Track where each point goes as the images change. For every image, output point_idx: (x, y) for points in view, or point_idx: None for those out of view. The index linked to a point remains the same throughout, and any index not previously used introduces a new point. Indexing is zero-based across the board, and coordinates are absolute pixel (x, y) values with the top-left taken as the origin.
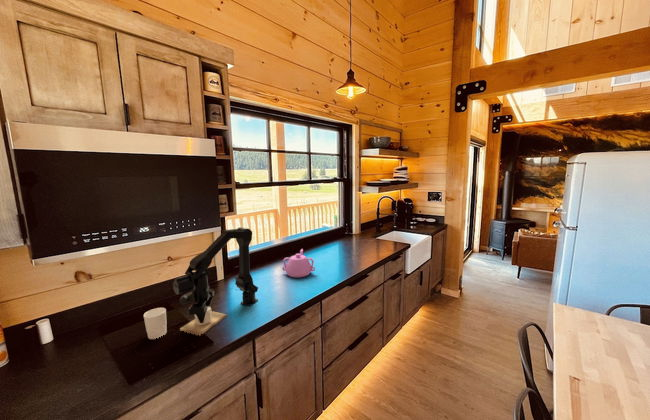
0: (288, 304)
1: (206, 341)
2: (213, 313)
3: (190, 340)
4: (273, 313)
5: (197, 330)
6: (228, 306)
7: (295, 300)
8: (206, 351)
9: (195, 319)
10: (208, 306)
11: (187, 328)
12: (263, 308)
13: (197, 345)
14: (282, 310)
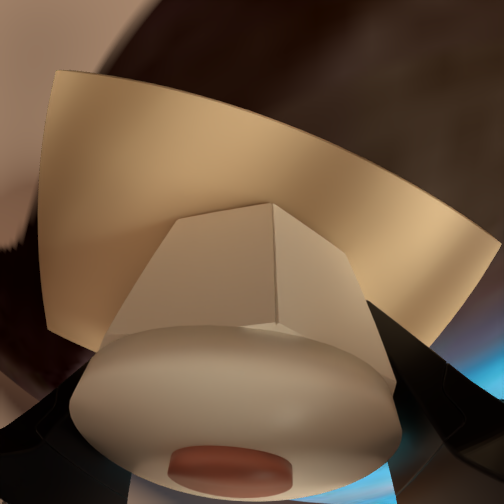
0: (372, 496)
1: (44, 363)
2: (415, 331)
3: (6, 271)
4: (319, 495)
5: (70, 300)
6: (497, 354)
7: (391, 496)
8: (9, 370)
9: (147, 265)
10: (350, 481)
11: (67, 169)
12: (376, 475)
13: (5, 328)
14: (334, 499)
